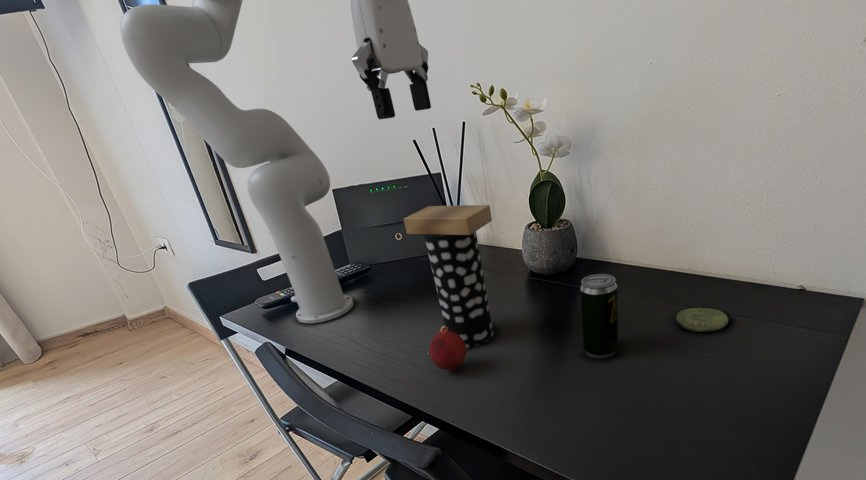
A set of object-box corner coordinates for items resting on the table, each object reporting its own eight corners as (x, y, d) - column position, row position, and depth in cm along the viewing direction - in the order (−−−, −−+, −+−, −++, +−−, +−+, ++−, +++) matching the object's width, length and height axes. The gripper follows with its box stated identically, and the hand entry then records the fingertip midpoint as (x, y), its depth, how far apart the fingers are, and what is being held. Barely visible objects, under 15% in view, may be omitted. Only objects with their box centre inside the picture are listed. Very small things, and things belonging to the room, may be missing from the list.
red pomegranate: (456, 383, 73) (445, 338, 69) (428, 376, 76) (416, 333, 72) (476, 364, 77) (468, 320, 73) (449, 358, 80) (439, 316, 76)
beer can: (581, 359, 73) (577, 288, 67) (586, 341, 78) (582, 273, 71) (616, 360, 72) (615, 287, 65) (619, 342, 76) (618, 272, 70)
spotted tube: (488, 347, 81) (467, 233, 70) (442, 348, 83) (416, 238, 72) (497, 324, 88) (479, 217, 77) (455, 325, 90) (432, 222, 79)
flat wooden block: (406, 234, 75) (403, 218, 74) (431, 220, 80) (428, 205, 79) (469, 235, 70) (466, 218, 68) (492, 220, 75) (489, 204, 73)
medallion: (680, 307, 82) (681, 303, 82) (730, 311, 79) (731, 307, 78) (671, 329, 77) (672, 325, 76) (725, 334, 73) (725, 330, 73)
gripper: (394, -9, 76) (418, 109, 85) (314, -15, 64) (353, 124, 73) (431, -21, 72) (452, 104, 81) (354, -29, 60) (389, 119, 69)
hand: (405, 113), depth 77 cm, fingers open, 9 cm apart
